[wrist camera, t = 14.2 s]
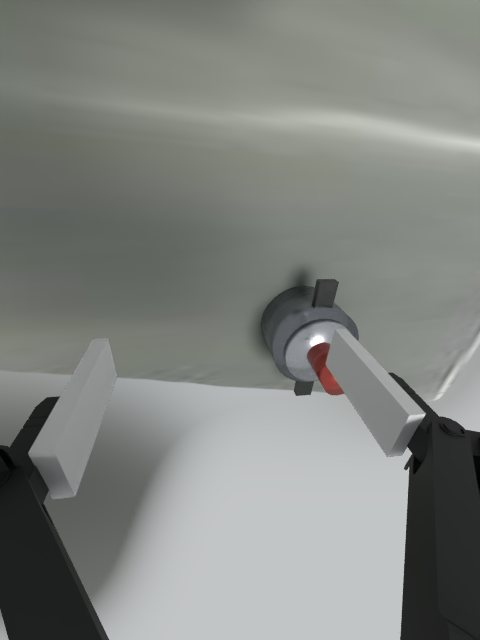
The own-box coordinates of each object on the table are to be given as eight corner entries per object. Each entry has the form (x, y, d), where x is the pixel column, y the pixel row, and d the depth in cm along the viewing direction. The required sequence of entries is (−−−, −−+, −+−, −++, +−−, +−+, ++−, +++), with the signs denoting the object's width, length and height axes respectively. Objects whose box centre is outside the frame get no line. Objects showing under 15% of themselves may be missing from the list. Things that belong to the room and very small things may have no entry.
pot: (267, 264, 44) (283, 285, 36) (346, 264, 46) (377, 284, 38) (256, 368, 55) (267, 401, 47) (320, 364, 57) (340, 395, 49)
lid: (290, 318, 39) (311, 350, 32) (358, 318, 41) (391, 349, 34) (277, 375, 44) (293, 414, 38) (338, 373, 46) (363, 409, 40)
